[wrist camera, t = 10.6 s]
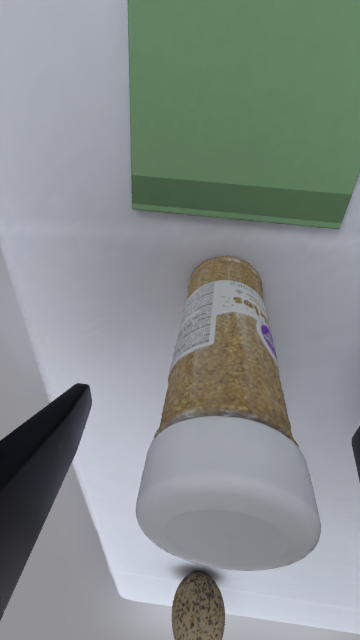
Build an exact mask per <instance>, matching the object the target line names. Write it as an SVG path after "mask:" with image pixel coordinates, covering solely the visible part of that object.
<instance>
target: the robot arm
mask: <svg viewBox="0 0 360 640" xmlns="http://www.w3.org/2000/svg"><path fill="white" fill-rule="evenodd" d="M91 405H92V398H91V392H90V386H89V385H87V384H81V383H77V384H75V385H74V386H72V387H71V388H70V389H68V390H67V391H66V392H64V393H63V394H62V395H60V396H59V397H58V398H56V399H55V400H54V401H52V402H51V403H50V404H49V405H48V406H46V407H45V408H43V409H42V410H41V411H39V412H38V413H37V414H35V415H34V416H33V417H31V418H30V419H29V420H27V421H26V422H25V423H23V424H22V425H21V426H19V427H18V428H17V429H15V430H14V431H13V432H11V433H10V434H9V435H7V436H6V437H5V438H4V439H2V440H1V441H0V620H1V618H2V616H3V614H4V610H5V609H6V607H7V605H8V602H9V600H10V598H11V595H12V593H13V591H14V589H15V587H16V585H17V582H18V580H19V578H20V576H21V573H22V571H23V569H24V566H25V565H26V562H27V560H28V558H29V556H30V553H31V551H32V549H33V547H34V545H35V543H36V540H37V538H38V536H39V534H40V531H41V529H42V527H43V525H44V523H45V520H46V518H47V516H48V514H49V512H50V509H51V507H52V505H53V503H54V500H55V498H56V496H57V494H58V492H59V489H60V487H61V485H62V483H63V480H64V478H65V476H66V473H67V471H68V469H69V467H70V465H71V463H72V461H73V458H74V456H75V454H76V451H77V449H78V446H79V443H80V440H81V437H82V434H83V431H84V428H85V425H86V422H87V418H88V415H89V412H90V409H91ZM352 447H353V452H354V457H355V462H356V466H357V471H358V476H359V481H360V426H359V428H358V429H357V431H356V432H355V434H354V436H353V438H352Z"/></svg>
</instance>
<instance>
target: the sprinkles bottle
mask: <svg viewBox="0 0 360 640" xmlns="http://www.w3.org/2000/svg"><path fill="white" fill-rule="evenodd" d="M136 516H137V520H138V524H139V526H140V527H141V529H142V531H143V532H144V534H145V535H146V536H147V537H148V538H149V539H150V540H151V541H152V542H153V543H155V544H156V545H157V546H159V547H160V548H162V549H163V550H165V551H166V552H168V553H170V554H173V555H175V556H177V557H180V558H182V559H184V560H187V561H190V562H193V563H197V564H201V565H205V566H209V567H214V568H219V569H227V570H241V571H252V570H265V569H273V568H278V567H282V566H286V565H289V564H292V563H294V562H297V561H299V560H300V559H302V558H304V557H305V556H306V555H308V554H309V553H310V552H311V551H312V550H313V549H314V548H315V546H316V545H317V543H318V541H319V537H320V532H321V524H320V519H319V514H318V509H317V504H316V500H315V495H314V491H313V486H312V482H311V478H310V474H309V471H308V467H307V463H306V460H305V457H304V455H303V454H302V452H301V450H300V449H299V447H298V444H297V443H296V441H295V440H294V439H293V437H292V433H291V426H290V422H289V419H288V415H287V409H286V404H285V400H284V394H283V391H282V387H281V382H280V378H279V365H278V361H277V357H276V352H275V348H274V344H273V339H272V335H271V330H270V325H269V320H268V315H267V310H266V307H265V304H264V301H263V297H262V282H261V279H260V277H259V275H258V272H257V271H256V270H255V269H254V268H253V267H252V266H251V265H250V264H249V263H247V262H245V261H243V260H241V259H238V258H236V257H229V256H223V257H216V258H213V259H210V260H208V261H205V262H203V263H202V264H201V265H200V266H199V267H198V268H197V269H196V270H195V271H194V273H193V274H192V275H191V278H190V281H189V284H188V298H187V302H186V304H185V307H184V310H183V315H182V319H181V323H180V327H179V332H178V337H177V341H176V346H175V350H174V355H173V359H172V364H171V368H170V373H169V378H168V389H167V393H166V398H165V404H164V407H163V412H162V418H161V423H160V427H159V429H158V430H157V432H156V434H155V436H154V440H153V441H152V443H151V445H150V447H149V450H148V453H147V457H146V461H145V466H144V470H143V474H142V479H141V484H140V489H139V493H138V498H137V504H136Z"/></svg>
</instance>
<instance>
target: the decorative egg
mask: <svg viewBox="0 0 360 640" xmlns="http://www.w3.org/2000/svg"><path fill="white" fill-rule="evenodd" d="M224 625H225V609H224V603H223V598H222V595H221V592H220V590H219V588H218V586H217V584H216V583H215V581H214V580H213V579H212V578H211V577H210V576H208V575H207V574H205V573H202V572H193V573H191V574H189V575H187V576H186V577H185V578H184V579H183V580H182V581H181V583H180V584H179V586H178V588H177V591H176V593H175V596H174V601H173V606H172V627H173V634H174V639H175V640H222V637H223V632H224Z"/></svg>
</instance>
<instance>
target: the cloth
mask: <svg viewBox="0 0 360 640" xmlns="http://www.w3.org/2000/svg"><path fill="white" fill-rule="evenodd" d="M128 34H129V80H130V126H131V172H132V209H138V210H148V211H158V212H169V213H179V214H189V215H199V216H210V217H220V218H230V219H240V220H251V221H261V222H271V223H281V224H292V225H302V226H312V227H322V228H333V229H339V228H340V225H341V223H342V220H343V218H344V215H345V212H346V209H347V206H348V204H349V201H350V198H351V195H352V192H353V189H354V187H355V184H356V181H357V178H358V175H359V173H360V0H128Z"/></svg>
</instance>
